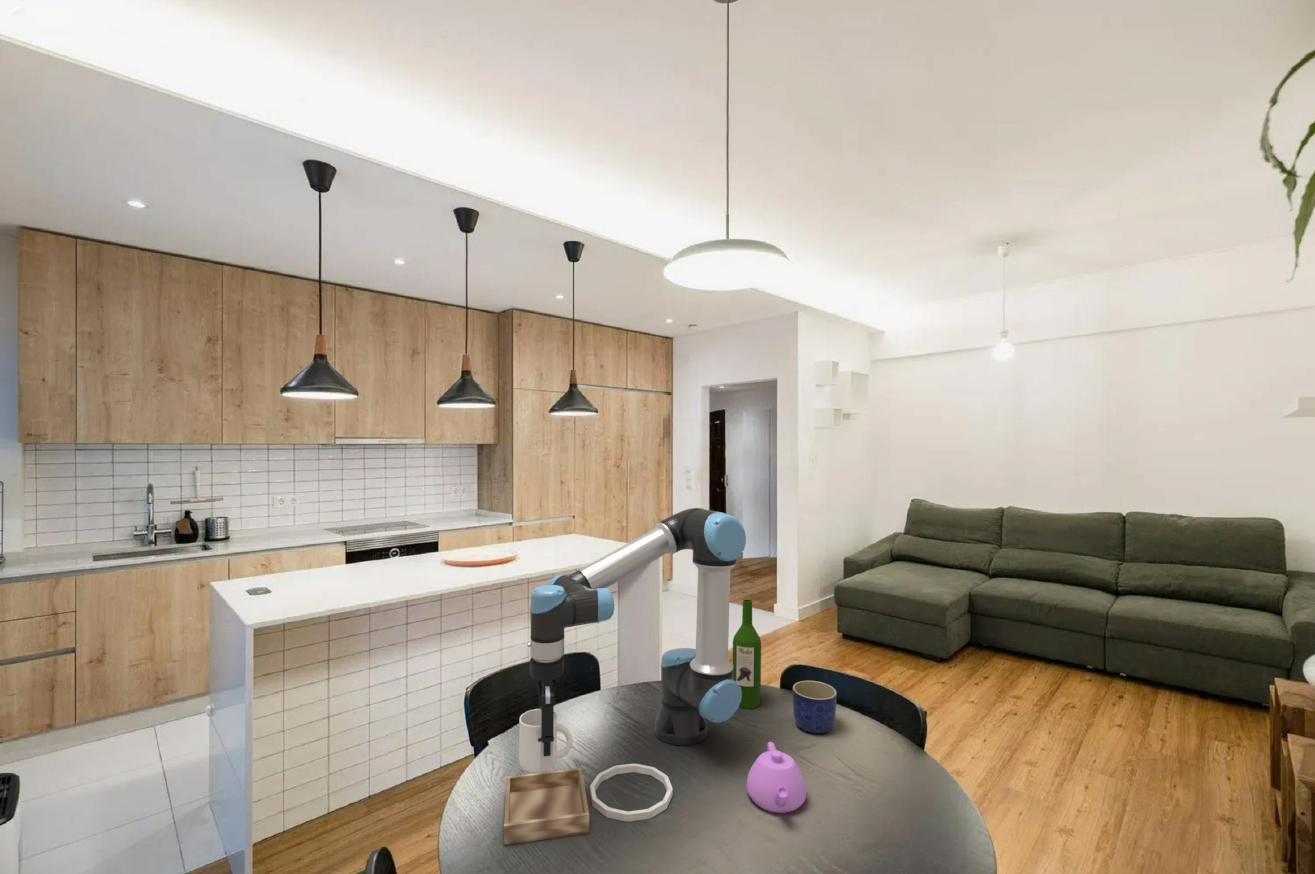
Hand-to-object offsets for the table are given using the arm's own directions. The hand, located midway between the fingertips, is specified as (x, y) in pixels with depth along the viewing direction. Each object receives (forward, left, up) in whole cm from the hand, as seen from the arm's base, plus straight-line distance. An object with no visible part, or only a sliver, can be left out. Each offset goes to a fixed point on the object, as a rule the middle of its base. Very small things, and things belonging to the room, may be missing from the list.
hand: (545, 756), depth 131 cm
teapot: (-53, +6, -13) cm, 55 cm away
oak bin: (0, 0, -13) cm, 13 cm away
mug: (0, +1, -1) cm, 2 cm away
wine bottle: (-64, -41, -13) cm, 77 cm away
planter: (-78, -23, -13) cm, 82 cm away
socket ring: (-20, -3, -13) cm, 24 cm away
